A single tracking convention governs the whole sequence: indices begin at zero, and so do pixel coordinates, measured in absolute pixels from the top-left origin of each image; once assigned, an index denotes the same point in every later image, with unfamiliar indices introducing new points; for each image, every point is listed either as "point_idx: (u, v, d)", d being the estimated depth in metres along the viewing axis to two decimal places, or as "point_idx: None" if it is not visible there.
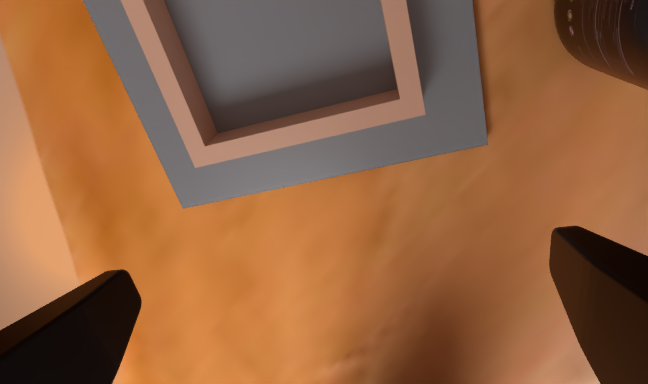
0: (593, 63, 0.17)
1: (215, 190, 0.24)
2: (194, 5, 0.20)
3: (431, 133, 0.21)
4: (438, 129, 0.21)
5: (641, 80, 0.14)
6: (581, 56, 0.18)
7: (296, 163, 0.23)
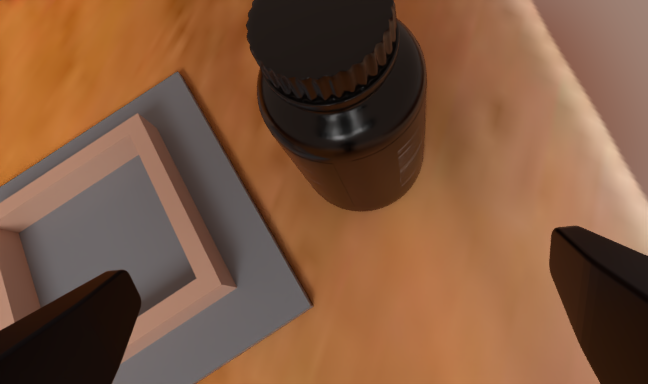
0: (332, 196, 0.20)
1: None
2: (52, 270, 0.25)
3: (255, 312, 0.22)
4: (260, 307, 0.22)
5: (315, 171, 0.17)
6: (330, 199, 0.21)
7: None
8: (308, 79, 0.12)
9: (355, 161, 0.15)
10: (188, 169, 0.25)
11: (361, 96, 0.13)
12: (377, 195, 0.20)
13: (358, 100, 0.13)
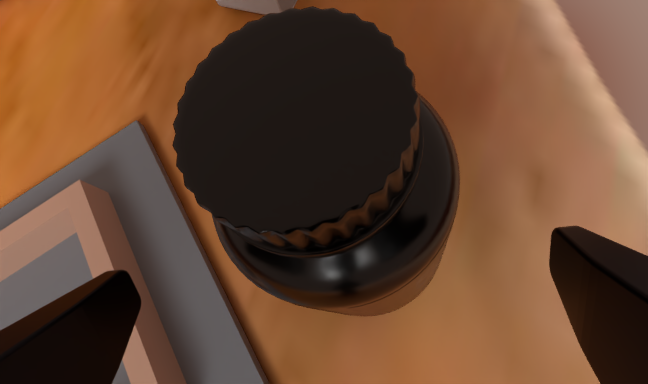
0: None
1: None
2: None
3: None
4: None
5: None
6: None
7: None
8: (270, 232, 0.07)
9: (352, 307, 0.10)
10: (144, 248, 0.20)
11: (362, 241, 0.08)
12: (384, 311, 0.15)
13: (357, 245, 0.08)
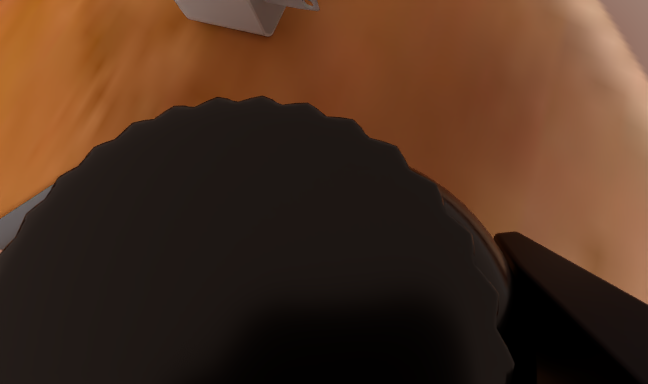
0: None
1: None
2: None
3: None
4: None
5: None
6: None
7: None
8: None
9: None
10: None
11: None
12: None
13: None
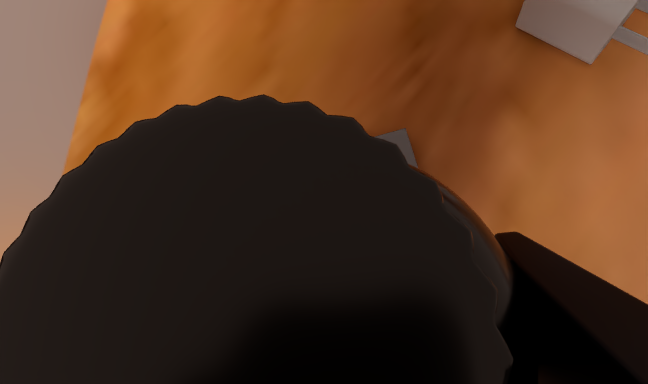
0: None
1: None
2: None
3: None
4: None
5: None
6: None
7: None
8: None
9: None
10: None
11: None
12: None
13: None
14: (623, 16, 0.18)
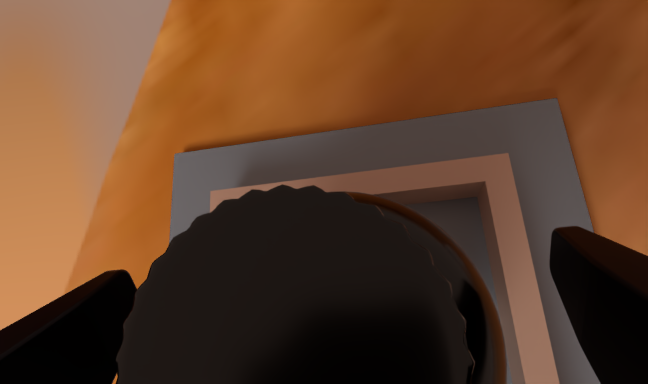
0: None
1: None
2: None
3: None
4: None
5: None
6: None
7: None
8: None
9: None
10: (533, 264, 0.16)
11: None
12: None
13: None
14: None
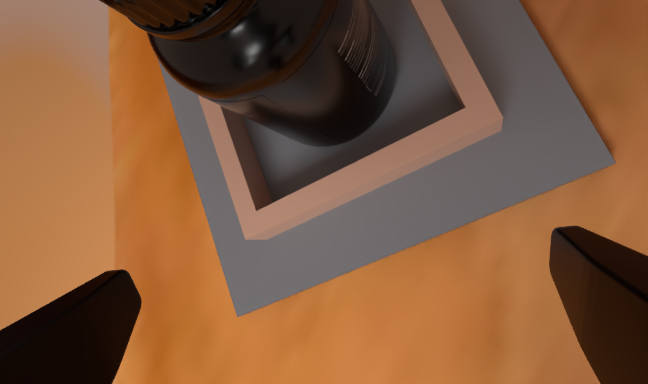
0: (302, 136, 0.17)
1: (273, 286, 0.20)
2: None
3: (527, 164, 0.17)
4: (535, 157, 0.17)
5: (257, 114, 0.14)
6: (304, 140, 0.18)
7: (363, 234, 0.19)
8: None
9: (285, 81, 0.12)
10: None
11: None
12: (350, 116, 0.17)
13: None
14: None
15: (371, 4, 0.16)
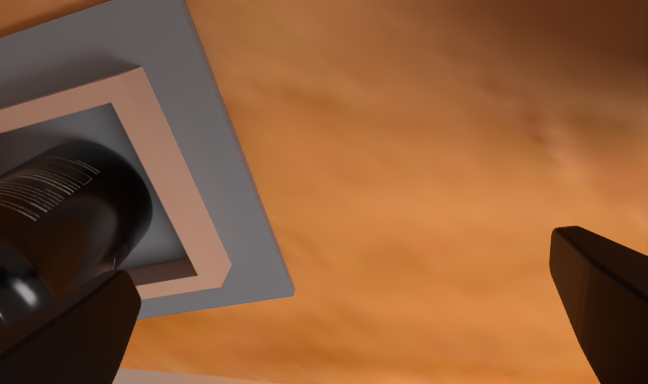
0: (132, 235, 0.21)
1: (269, 265, 0.24)
2: None
3: (171, 51, 0.19)
4: (166, 43, 0.19)
5: None
6: (139, 231, 0.22)
7: (228, 190, 0.22)
8: None
9: (52, 267, 0.16)
10: (1, 94, 0.21)
11: None
12: (114, 196, 0.20)
13: None
14: None
15: (13, 169, 0.19)
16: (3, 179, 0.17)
